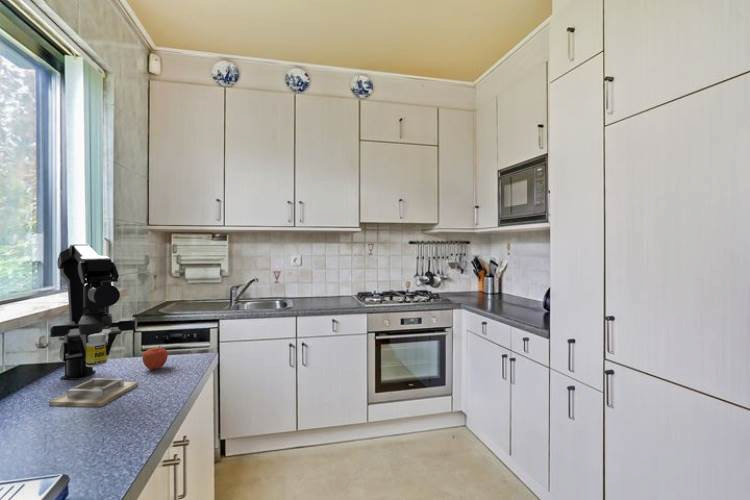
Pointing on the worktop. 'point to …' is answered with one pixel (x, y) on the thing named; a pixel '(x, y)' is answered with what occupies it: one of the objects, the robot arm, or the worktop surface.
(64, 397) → the carrier plate
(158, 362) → the apple
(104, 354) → the supplement bottle
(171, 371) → the worktop surface
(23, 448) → the worktop surface
